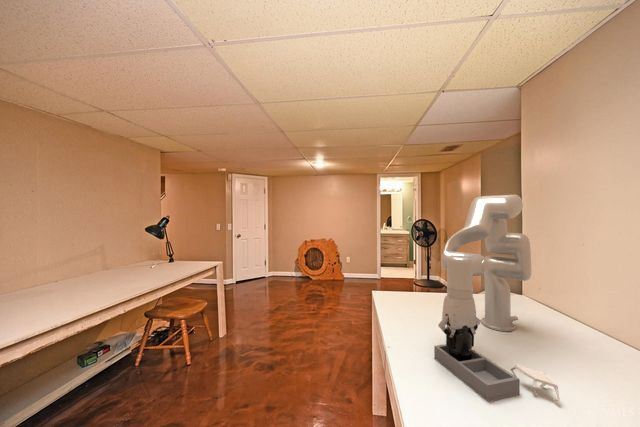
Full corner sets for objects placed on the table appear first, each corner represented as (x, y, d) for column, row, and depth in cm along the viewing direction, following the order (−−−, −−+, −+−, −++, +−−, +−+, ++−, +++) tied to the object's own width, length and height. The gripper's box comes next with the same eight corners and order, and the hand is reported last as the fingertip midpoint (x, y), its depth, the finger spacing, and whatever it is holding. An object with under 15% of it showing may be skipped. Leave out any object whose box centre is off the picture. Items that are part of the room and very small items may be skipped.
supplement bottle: (475, 365, 80) (475, 328, 80) (452, 363, 81) (451, 326, 81) (467, 353, 87) (467, 319, 87) (446, 351, 88) (445, 317, 88)
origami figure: (565, 394, 70) (565, 377, 71) (559, 408, 65) (558, 389, 65) (513, 373, 80) (513, 357, 80) (504, 384, 75) (503, 367, 75)
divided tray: (460, 354, 91) (460, 341, 91) (519, 395, 70) (519, 378, 70) (434, 358, 88) (434, 345, 88) (487, 402, 68) (487, 385, 68)
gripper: (471, 287, 90) (472, 337, 90) (429, 291, 86) (430, 344, 86) (490, 294, 83) (491, 348, 83) (445, 298, 78) (446, 356, 78)
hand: (460, 345), depth 84 cm, fingers closed on supplement bottle, 6 cm apart
